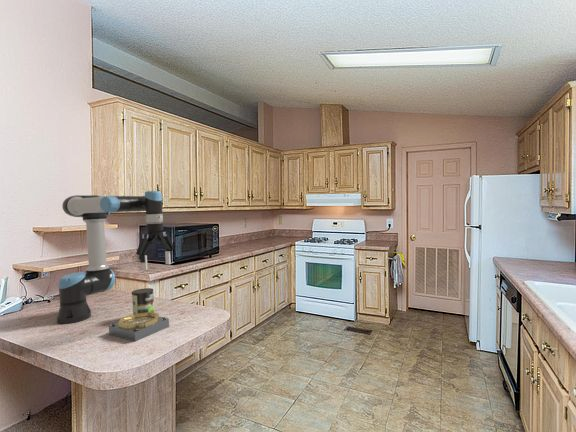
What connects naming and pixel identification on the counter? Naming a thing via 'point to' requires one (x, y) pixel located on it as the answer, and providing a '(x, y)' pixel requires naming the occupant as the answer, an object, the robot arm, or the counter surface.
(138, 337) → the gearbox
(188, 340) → the counter surface
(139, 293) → the coffee can
